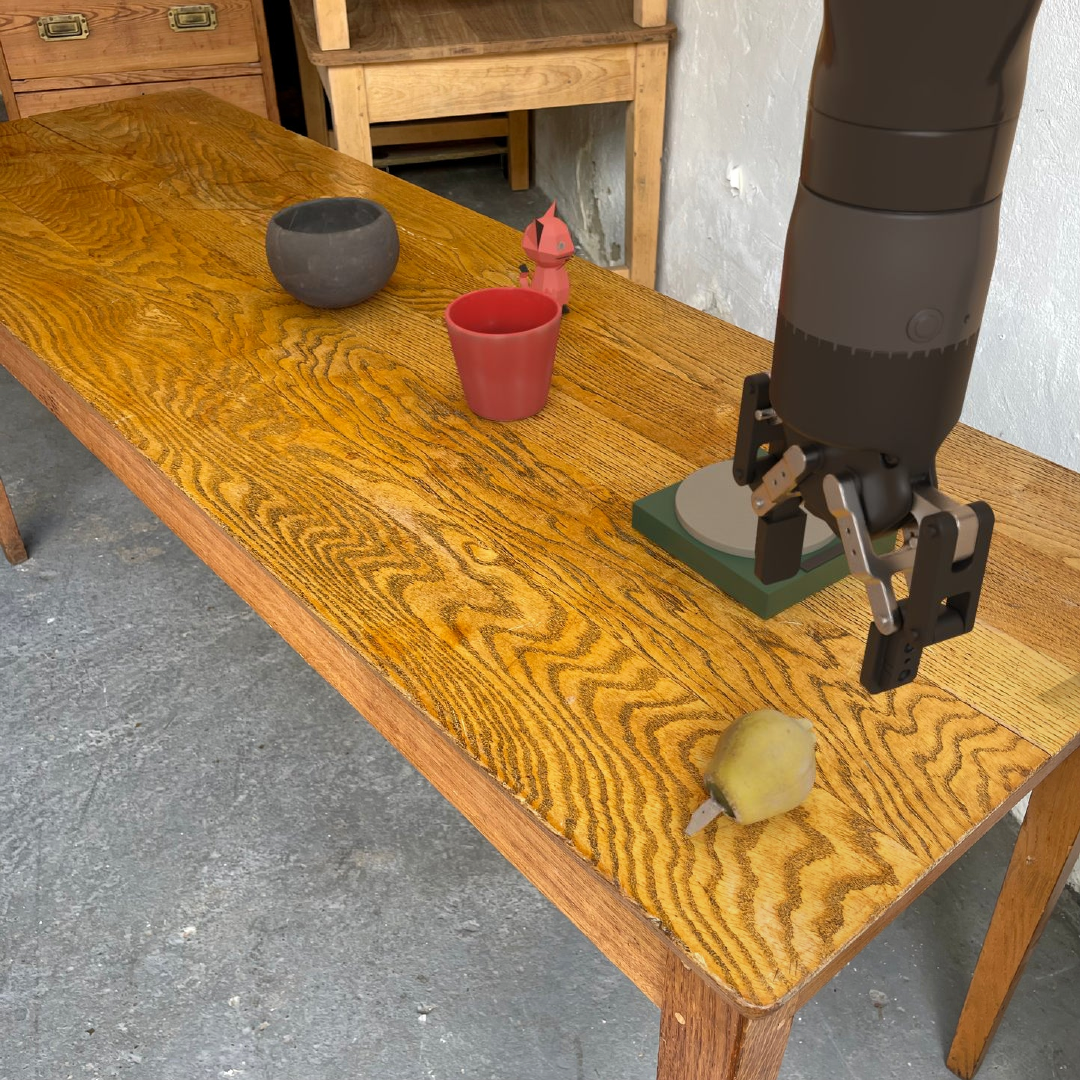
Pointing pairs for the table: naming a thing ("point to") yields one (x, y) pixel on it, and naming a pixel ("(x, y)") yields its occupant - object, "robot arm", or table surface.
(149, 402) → the table surface
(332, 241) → the bowl
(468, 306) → the flower pot
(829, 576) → the scale
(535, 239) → the cat figurine
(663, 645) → the table surface
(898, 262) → the robot arm
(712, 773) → the fruit
